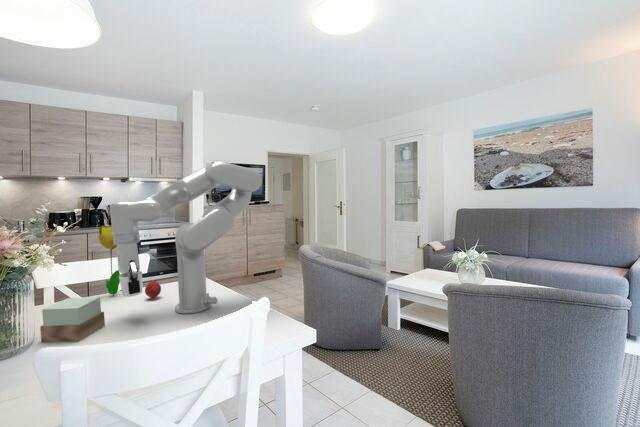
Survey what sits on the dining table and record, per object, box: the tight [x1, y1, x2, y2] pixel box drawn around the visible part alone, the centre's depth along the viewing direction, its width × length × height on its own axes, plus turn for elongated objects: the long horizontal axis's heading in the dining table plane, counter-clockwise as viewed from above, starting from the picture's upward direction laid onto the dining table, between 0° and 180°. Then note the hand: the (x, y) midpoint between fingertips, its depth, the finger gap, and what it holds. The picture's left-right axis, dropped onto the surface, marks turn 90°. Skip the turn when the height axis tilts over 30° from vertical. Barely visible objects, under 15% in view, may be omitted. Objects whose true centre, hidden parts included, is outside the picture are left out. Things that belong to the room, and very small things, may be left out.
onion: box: [144, 279, 162, 300], centre depth 129 cm, size 6×6×8 cm
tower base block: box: [39, 311, 106, 343], centre depth 98 cm, size 11×11×5 cm
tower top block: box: [41, 296, 102, 326], centre depth 97 cm, size 10×10×5 cm
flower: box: [98, 224, 121, 297], centre depth 133 cm, size 9×8×30 cm
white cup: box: [119, 270, 143, 298], centre depth 107 cm, size 7×7×7 cm
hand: (132, 290), depth 107 cm, fingers closed on white cup, 6 cm apart
